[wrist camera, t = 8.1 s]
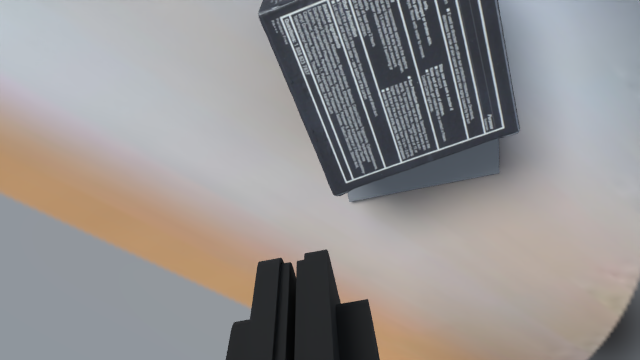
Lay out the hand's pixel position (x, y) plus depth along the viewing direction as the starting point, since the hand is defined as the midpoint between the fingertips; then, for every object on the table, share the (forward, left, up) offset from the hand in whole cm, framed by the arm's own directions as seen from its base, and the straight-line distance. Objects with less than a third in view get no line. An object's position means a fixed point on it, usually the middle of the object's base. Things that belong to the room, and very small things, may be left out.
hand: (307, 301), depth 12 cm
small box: (+1, 0, -17) cm, 17 cm away
